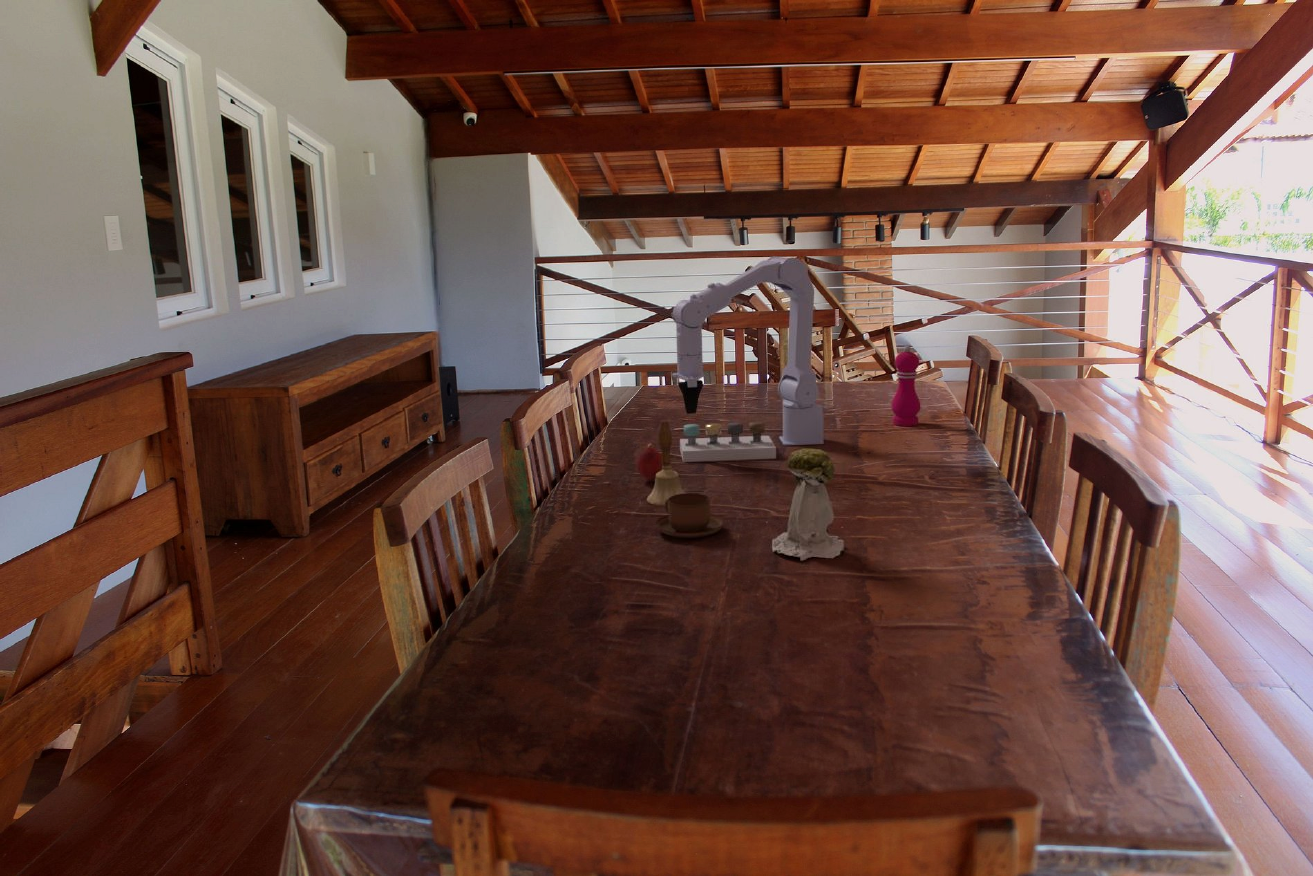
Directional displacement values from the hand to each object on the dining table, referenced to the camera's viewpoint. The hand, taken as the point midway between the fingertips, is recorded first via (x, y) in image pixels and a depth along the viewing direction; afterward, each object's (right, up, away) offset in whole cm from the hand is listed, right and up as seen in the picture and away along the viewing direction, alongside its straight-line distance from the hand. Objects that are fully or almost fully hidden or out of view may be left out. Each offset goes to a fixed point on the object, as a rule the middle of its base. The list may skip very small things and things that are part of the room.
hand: (691, 413), depth 229 cm
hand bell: (-6, -18, -32) cm, 37 cm away
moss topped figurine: (+17, -24, -63) cm, 69 cm away
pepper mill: (+56, -2, +27) cm, 62 cm away
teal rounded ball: (0, -7, +2) cm, 7 cm away
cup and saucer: (-2, -23, -51) cm, 56 cm away
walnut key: (+15, -6, +2) cm, 17 cm away
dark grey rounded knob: (+10, -7, +2) cm, 12 cm away
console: (+8, -9, +2) cm, 13 cm away
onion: (-9, -15, -18) cm, 25 cm away
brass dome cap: (+5, -7, +2) cm, 9 cm away
